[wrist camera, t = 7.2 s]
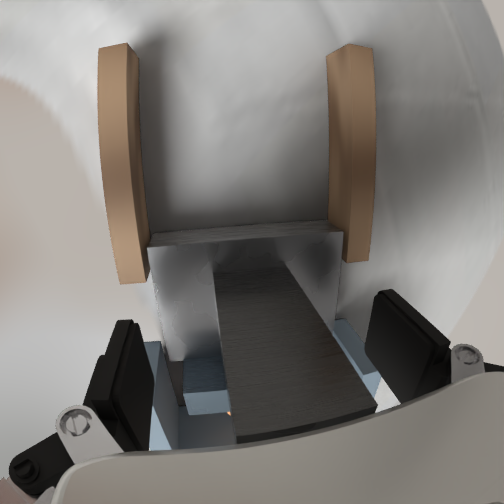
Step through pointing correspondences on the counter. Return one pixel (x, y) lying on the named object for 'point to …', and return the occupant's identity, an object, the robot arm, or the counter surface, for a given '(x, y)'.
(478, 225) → the counter surface
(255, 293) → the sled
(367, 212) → the rail
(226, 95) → the counter surface
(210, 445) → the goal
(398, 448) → the robot arm
